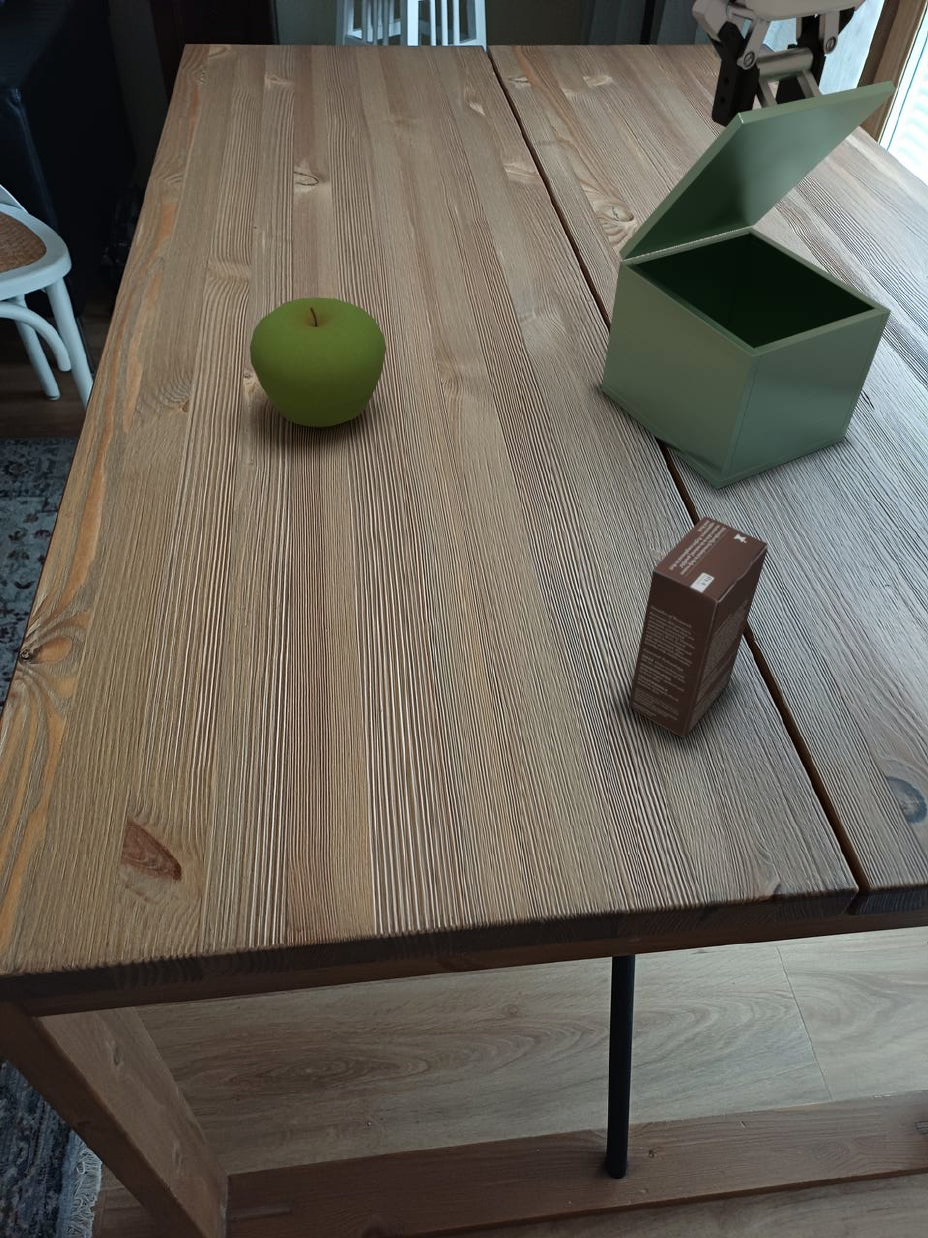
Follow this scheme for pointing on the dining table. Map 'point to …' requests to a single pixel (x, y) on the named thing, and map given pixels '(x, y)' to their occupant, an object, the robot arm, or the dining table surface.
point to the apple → (318, 360)
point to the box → (695, 623)
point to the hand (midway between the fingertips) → (761, 116)
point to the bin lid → (757, 156)
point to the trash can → (739, 352)
